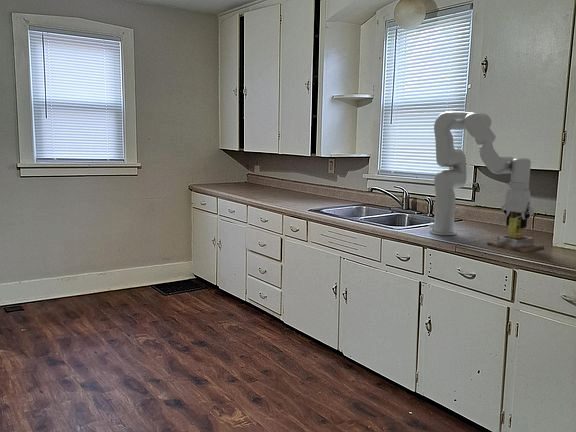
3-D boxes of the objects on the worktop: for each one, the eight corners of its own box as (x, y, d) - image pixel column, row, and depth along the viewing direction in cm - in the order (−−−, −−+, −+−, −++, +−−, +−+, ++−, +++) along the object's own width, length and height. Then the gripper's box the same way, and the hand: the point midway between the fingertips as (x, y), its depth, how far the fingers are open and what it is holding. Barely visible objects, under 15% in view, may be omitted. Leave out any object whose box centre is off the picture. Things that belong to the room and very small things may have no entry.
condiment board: (487, 244, 244) (487, 235, 243) (507, 241, 252) (507, 232, 252) (523, 252, 229) (524, 242, 228) (543, 248, 237) (544, 239, 237)
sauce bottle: (517, 243, 236) (521, 198, 233) (504, 240, 241) (507, 196, 238) (525, 241, 240) (529, 197, 237) (512, 238, 245) (516, 195, 242)
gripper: (496, 185, 242) (493, 224, 244) (532, 188, 227) (529, 230, 230) (506, 184, 246) (503, 223, 249) (542, 187, 232) (539, 229, 234)
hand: (516, 226), depth 239 cm, fingers closed on sauce bottle, 6 cm apart
